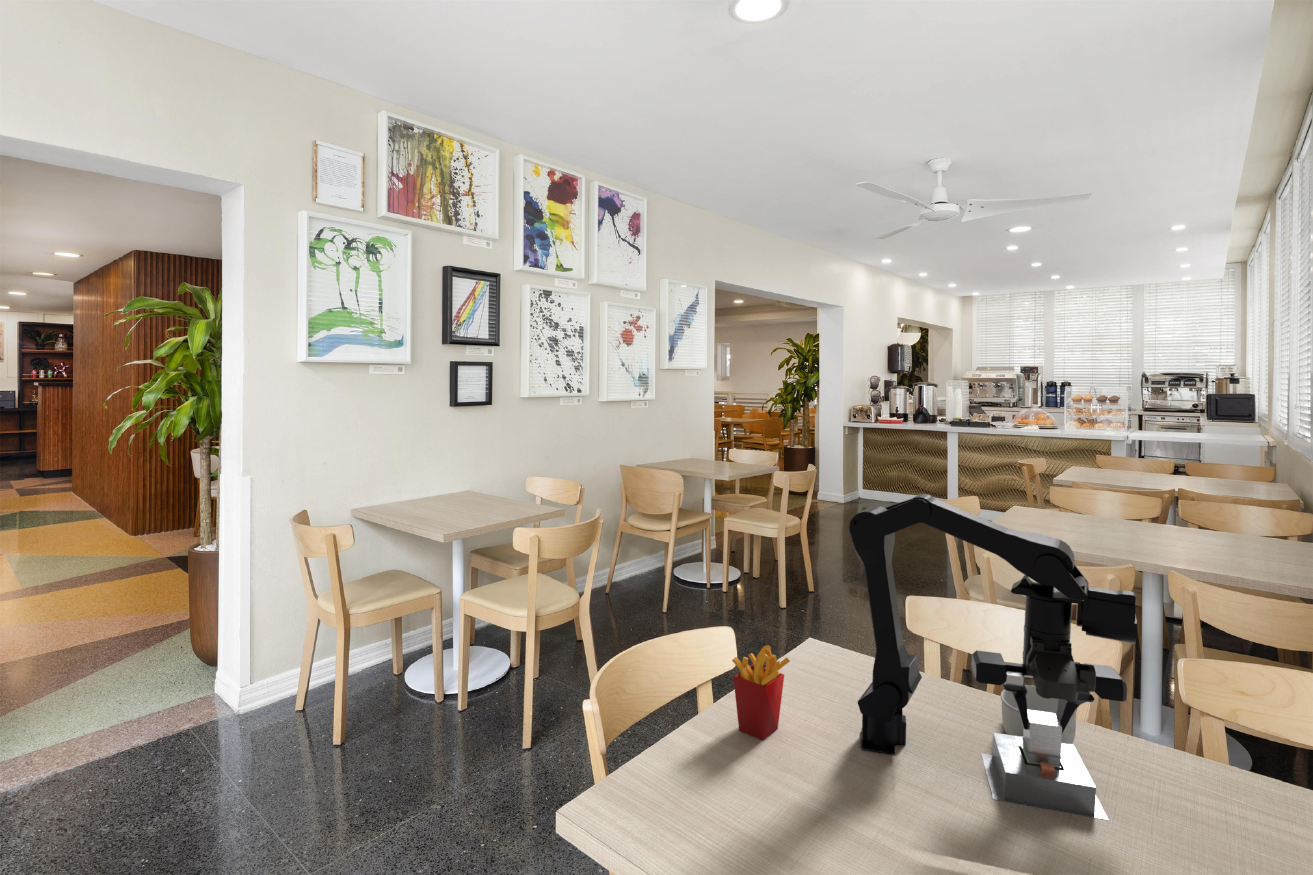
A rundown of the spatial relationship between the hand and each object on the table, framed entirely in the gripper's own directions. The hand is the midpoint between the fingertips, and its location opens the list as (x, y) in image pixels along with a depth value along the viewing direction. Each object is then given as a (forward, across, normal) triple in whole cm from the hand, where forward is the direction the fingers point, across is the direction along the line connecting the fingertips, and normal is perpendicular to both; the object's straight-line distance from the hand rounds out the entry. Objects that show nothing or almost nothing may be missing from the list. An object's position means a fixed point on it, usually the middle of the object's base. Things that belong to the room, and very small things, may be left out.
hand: (1042, 730), depth 95 cm
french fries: (+10, -41, +4) cm, 42 cm away
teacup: (+10, +2, +15) cm, 18 cm away
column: (+5, 0, 0) cm, 5 cm away
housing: (+9, 0, 0) cm, 9 cm away
